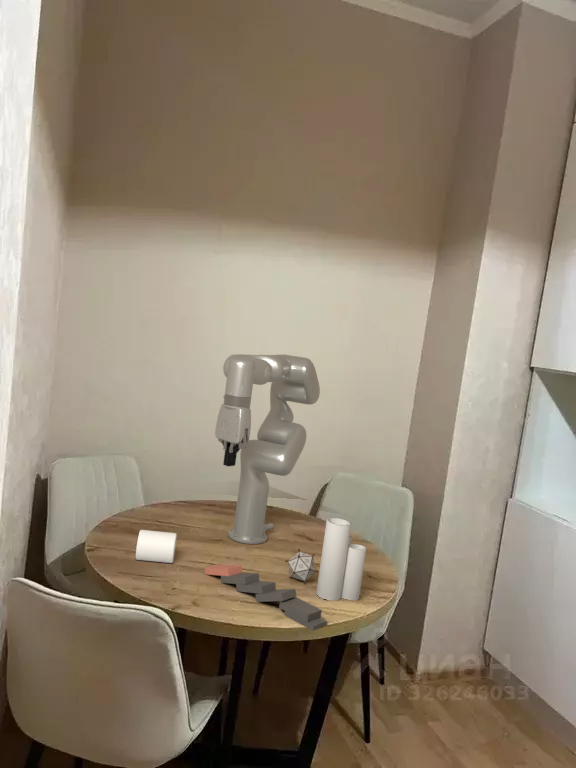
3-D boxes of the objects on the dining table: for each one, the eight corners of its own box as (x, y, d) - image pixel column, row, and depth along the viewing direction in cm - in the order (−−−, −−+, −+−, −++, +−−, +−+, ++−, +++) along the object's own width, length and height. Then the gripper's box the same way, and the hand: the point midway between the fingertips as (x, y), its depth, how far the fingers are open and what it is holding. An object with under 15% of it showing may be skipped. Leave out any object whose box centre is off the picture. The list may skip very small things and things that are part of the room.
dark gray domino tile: (249, 579, 168) (275, 582, 162) (250, 586, 168) (275, 589, 162) (236, 583, 164) (261, 586, 158) (236, 591, 164) (262, 593, 158)
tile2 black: (234, 572, 172) (258, 573, 166) (235, 578, 172) (259, 580, 166) (220, 575, 168) (244, 577, 162) (221, 582, 168) (245, 584, 162)
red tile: (218, 563, 176) (241, 565, 170) (219, 570, 176) (242, 572, 170) (204, 567, 172) (227, 569, 166) (205, 574, 172) (228, 576, 166)
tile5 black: (293, 595, 159) (321, 609, 153) (292, 603, 159) (320, 617, 153) (280, 600, 155) (308, 614, 149) (279, 607, 155) (307, 622, 149)
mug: (171, 567, 174) (175, 538, 173) (134, 563, 173) (137, 535, 172) (175, 551, 186) (178, 525, 185) (140, 548, 184) (143, 521, 184)
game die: (292, 590, 178) (286, 554, 183) (322, 584, 178) (315, 548, 182) (287, 585, 170) (281, 547, 175) (319, 578, 170) (311, 541, 175)
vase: (321, 601, 164) (332, 525, 163) (312, 589, 171) (322, 516, 170) (361, 601, 168) (372, 527, 166) (351, 589, 175) (361, 518, 173)
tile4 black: (269, 590, 163) (295, 588, 158) (270, 597, 163) (296, 596, 157) (255, 594, 160) (281, 593, 154) (256, 601, 159) (282, 600, 153)
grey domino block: (298, 606, 157) (326, 620, 151) (297, 613, 157) (325, 628, 151) (284, 610, 154) (313, 626, 148) (283, 617, 154) (312, 633, 148)
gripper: (209, 397, 184) (202, 460, 186) (246, 406, 174) (237, 472, 176) (229, 397, 190) (221, 458, 191) (265, 406, 180) (256, 470, 181)
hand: (229, 465), depth 184 cm, fingers closed
